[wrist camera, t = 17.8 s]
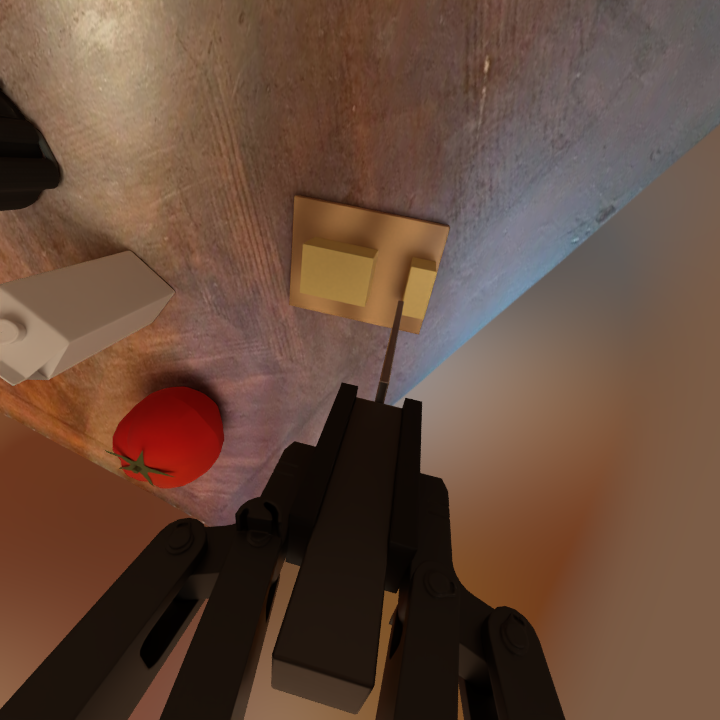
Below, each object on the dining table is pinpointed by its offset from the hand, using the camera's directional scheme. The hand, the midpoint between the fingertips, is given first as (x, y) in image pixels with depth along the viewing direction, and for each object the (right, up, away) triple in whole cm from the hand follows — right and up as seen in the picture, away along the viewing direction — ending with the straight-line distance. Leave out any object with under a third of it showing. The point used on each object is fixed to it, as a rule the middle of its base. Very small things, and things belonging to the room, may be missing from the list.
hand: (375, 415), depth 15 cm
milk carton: (-30, +12, +28) cm, 43 cm away
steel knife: (+2, +5, +8) cm, 10 cm away
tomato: (-27, -6, +38) cm, 47 cm away
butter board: (0, +13, +21) cm, 25 cm away
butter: (-3, +13, +20) cm, 24 cm away
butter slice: (+6, +11, +20) cm, 23 cm away
